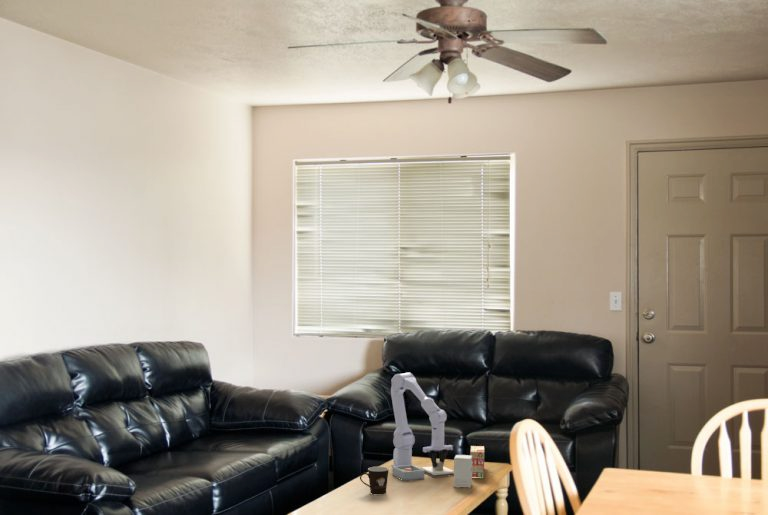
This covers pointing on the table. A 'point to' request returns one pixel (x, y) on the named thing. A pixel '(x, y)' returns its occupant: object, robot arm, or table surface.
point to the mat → (437, 475)
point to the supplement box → (462, 471)
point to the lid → (438, 469)
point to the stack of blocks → (477, 461)
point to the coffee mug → (377, 479)
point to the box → (408, 472)
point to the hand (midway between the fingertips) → (437, 466)
